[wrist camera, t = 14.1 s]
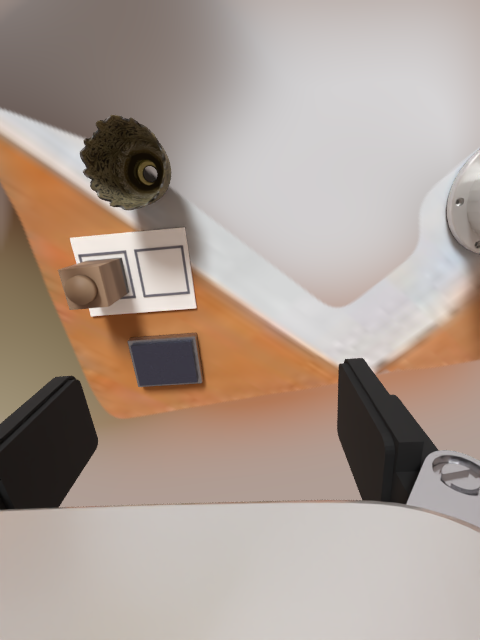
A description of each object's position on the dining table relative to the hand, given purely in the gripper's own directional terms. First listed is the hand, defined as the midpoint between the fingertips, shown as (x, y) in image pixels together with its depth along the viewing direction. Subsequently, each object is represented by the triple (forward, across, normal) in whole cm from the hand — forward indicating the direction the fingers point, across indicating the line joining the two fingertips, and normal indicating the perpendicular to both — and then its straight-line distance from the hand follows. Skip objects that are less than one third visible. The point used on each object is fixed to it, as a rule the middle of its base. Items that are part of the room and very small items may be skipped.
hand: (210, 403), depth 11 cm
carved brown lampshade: (+28, +9, -11) cm, 32 cm away
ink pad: (+28, +11, +12) cm, 33 cm away
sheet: (+28, +13, 0) cm, 31 cm away
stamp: (+28, +16, 0) cm, 32 cm away
